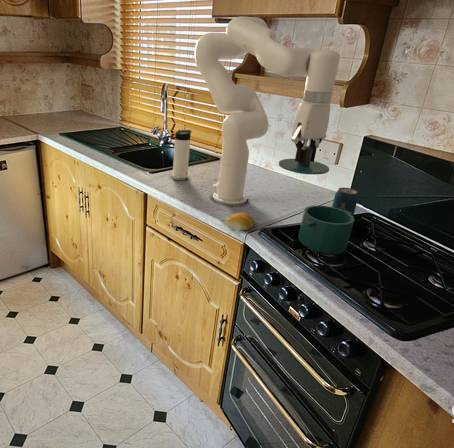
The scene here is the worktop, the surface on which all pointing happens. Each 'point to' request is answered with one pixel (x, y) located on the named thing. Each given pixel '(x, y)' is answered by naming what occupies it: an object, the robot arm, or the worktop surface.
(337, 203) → the soda can
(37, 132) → the worktop surface
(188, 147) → the travel mug
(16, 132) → the worktop surface
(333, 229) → the pot
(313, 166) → the lid
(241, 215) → the bread roll
